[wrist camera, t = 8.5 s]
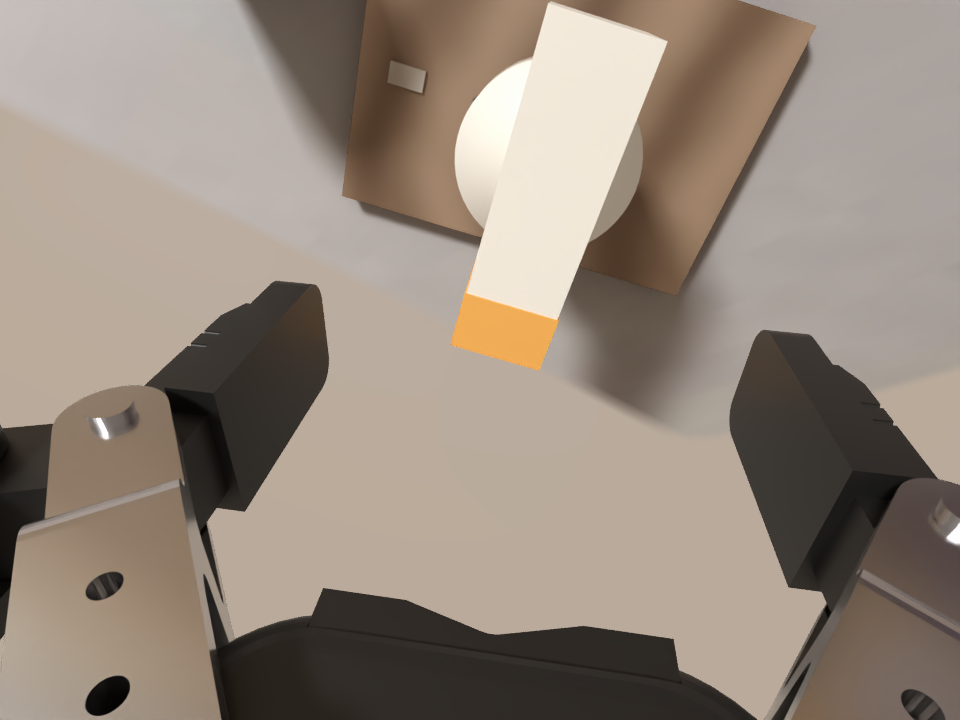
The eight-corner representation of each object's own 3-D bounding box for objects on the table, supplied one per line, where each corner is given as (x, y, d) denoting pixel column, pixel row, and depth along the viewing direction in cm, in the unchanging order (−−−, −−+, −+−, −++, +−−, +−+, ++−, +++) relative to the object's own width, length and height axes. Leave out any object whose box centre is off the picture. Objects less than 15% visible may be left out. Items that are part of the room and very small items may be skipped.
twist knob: (500, -18, 20) (466, -23, 13) (683, 41, 21) (746, 67, 14) (440, 236, 26) (393, 328, 19) (585, 279, 26) (594, 386, 19)
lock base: (804, 24, 26) (879, 34, 20) (671, 284, 34) (696, 350, 28) (390, -111, 26) (333, -144, 19) (350, 188, 33) (301, 233, 27)
